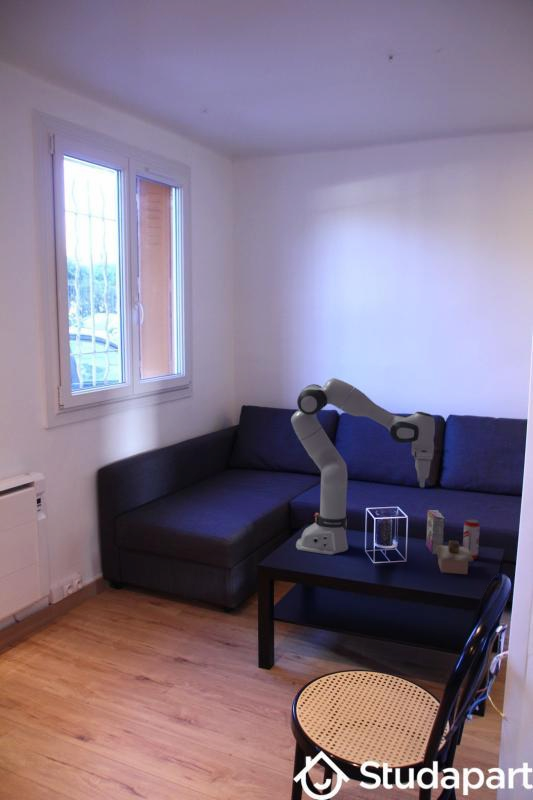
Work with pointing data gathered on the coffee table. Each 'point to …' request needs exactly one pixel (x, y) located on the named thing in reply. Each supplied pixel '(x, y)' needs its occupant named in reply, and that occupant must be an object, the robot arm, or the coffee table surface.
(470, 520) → the beer can
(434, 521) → the candy bar box
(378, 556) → the coffee table surface
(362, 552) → the coffee table surface
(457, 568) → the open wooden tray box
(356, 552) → the coffee table surface
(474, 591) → the coffee table surface
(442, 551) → the lid
